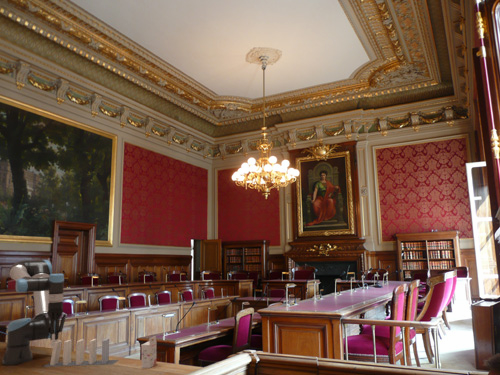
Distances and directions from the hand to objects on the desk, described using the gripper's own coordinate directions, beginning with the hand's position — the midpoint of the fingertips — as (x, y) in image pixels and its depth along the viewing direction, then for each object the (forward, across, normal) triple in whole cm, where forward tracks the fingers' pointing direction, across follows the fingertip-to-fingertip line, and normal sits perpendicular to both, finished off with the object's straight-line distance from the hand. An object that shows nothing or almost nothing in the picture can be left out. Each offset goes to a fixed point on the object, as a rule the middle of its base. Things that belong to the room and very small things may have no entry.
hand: (54, 345), depth 230 cm
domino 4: (+10, +21, +1) cm, 23 cm away
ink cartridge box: (+11, +54, -8) cm, 56 cm away
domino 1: (+10, 0, 0) cm, 10 cm away
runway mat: (+10, +15, +1) cm, 18 cm away
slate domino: (+10, +28, +1) cm, 30 cm away
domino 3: (+10, +14, +1) cm, 17 cm away
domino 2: (+10, +7, 0) cm, 12 cm away
